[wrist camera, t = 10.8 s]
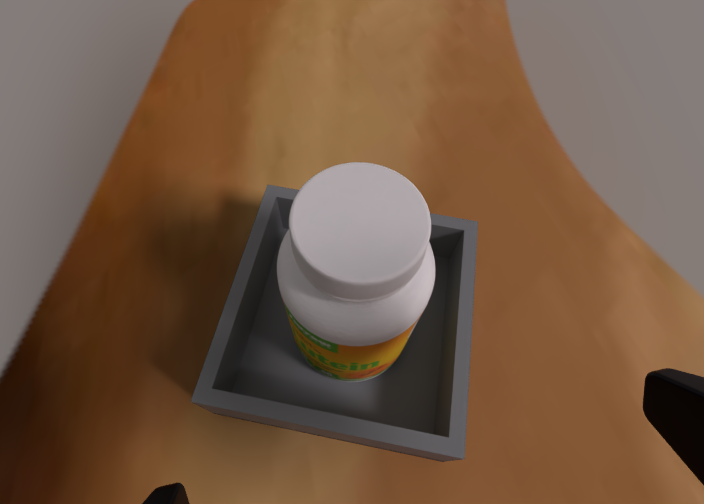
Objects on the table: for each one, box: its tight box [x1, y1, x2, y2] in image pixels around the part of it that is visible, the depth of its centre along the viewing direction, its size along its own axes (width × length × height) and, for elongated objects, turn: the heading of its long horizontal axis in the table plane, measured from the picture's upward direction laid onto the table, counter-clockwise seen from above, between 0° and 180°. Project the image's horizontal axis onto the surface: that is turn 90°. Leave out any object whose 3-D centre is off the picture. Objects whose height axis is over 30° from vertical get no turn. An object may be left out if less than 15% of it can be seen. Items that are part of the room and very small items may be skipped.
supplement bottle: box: [277, 162, 435, 382], centre depth 16 cm, size 5×5×10 cm
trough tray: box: [191, 185, 478, 462], centre depth 19 cm, size 10×10×4 cm
